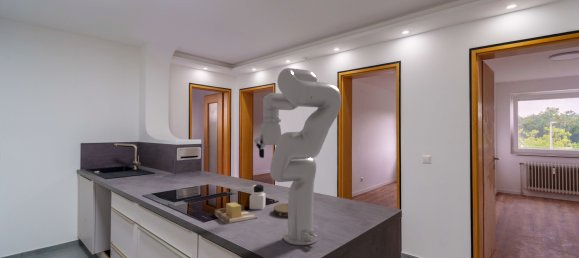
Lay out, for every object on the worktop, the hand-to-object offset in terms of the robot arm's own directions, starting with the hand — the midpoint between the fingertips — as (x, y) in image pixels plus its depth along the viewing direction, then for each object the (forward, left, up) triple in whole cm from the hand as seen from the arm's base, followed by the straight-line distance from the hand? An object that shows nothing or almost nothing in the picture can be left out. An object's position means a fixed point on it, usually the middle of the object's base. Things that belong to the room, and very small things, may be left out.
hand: (270, 157), depth 131 cm
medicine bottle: (+17, -2, -28) cm, 33 cm away
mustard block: (+10, +15, -28) cm, 33 cm away
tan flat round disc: (0, -11, -29) cm, 31 cm away
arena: (+9, +14, -28) cm, 33 cm away
